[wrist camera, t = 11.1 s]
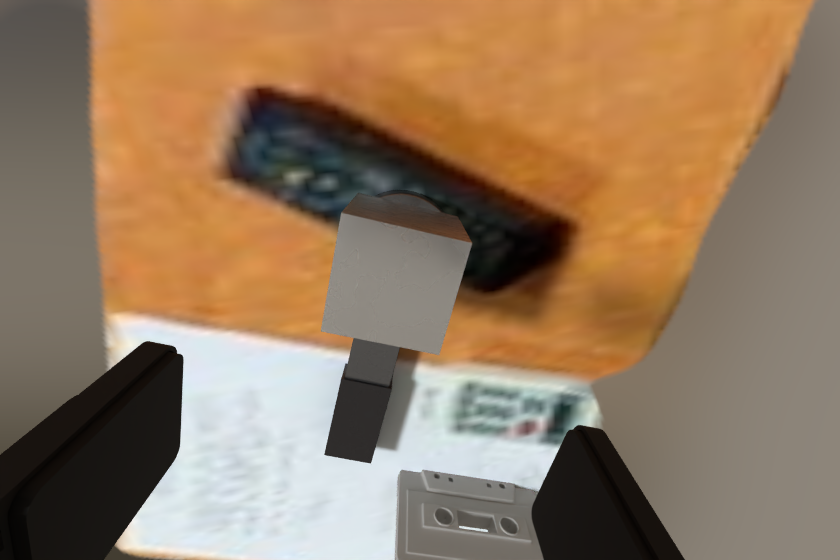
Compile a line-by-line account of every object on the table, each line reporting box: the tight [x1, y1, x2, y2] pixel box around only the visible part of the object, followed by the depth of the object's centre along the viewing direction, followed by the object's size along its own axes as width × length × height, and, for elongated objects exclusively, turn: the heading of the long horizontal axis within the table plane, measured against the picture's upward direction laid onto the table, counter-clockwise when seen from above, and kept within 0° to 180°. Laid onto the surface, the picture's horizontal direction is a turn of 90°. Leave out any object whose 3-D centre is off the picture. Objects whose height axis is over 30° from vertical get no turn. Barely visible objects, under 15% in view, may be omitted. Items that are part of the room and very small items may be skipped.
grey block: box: [321, 193, 472, 355], centre depth 22 cm, size 6×6×6 cm
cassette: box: [395, 470, 544, 560], centre depth 31 cm, size 12×2×8 cm, turn 78°
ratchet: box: [324, 190, 444, 463], centre depth 26 cm, size 20×7×6 cm, turn 165°
